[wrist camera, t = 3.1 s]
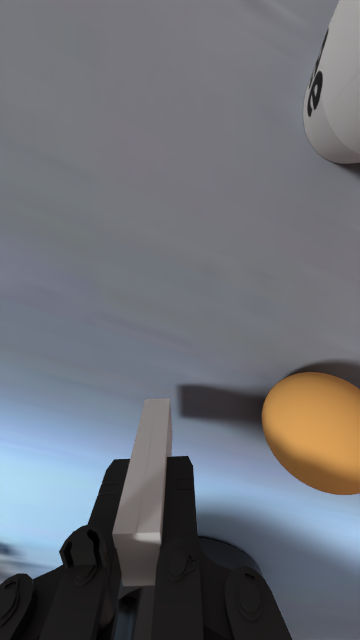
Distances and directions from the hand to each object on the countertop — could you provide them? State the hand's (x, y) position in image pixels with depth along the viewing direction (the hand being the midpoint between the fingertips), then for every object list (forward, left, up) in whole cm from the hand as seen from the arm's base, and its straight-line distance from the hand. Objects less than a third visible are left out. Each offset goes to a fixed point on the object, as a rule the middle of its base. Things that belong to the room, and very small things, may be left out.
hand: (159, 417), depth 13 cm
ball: (0, -9, +1) cm, 9 cm away
